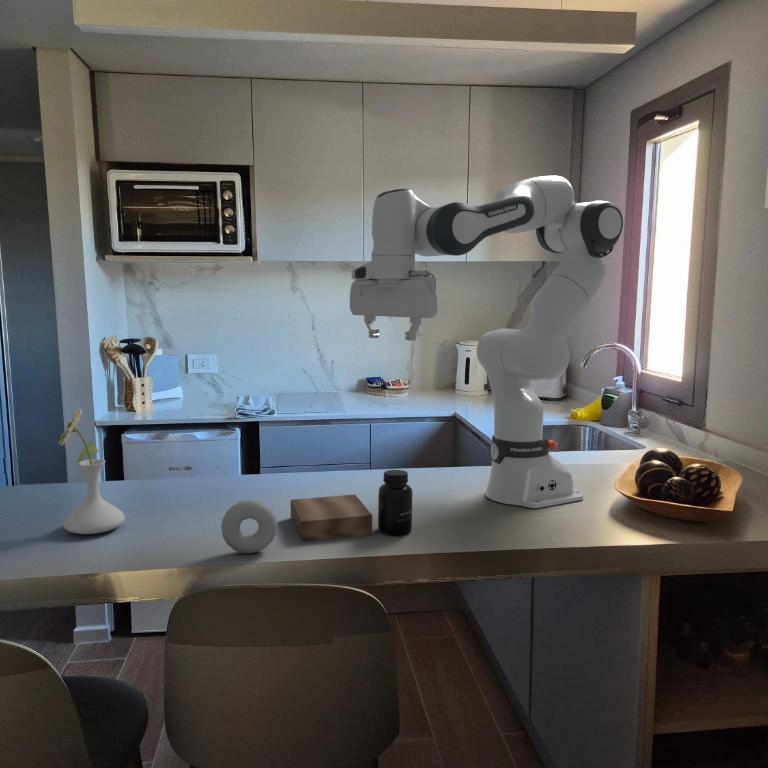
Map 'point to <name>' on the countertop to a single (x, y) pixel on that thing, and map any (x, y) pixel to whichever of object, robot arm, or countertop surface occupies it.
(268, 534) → the donut
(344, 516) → the walnut base
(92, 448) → the flower in vase
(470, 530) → the countertop surface
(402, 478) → the supplement bottle
